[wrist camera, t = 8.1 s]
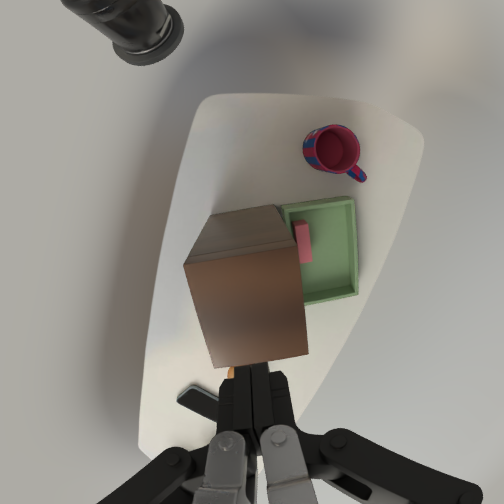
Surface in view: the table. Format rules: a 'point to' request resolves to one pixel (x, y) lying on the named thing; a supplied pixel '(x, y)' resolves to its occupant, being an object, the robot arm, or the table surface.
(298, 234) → the eraser
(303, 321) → the walnut stand
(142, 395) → the table surface
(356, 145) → the cup
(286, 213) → the tray
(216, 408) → the smartphone
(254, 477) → the robot arm
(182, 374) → the table surface
